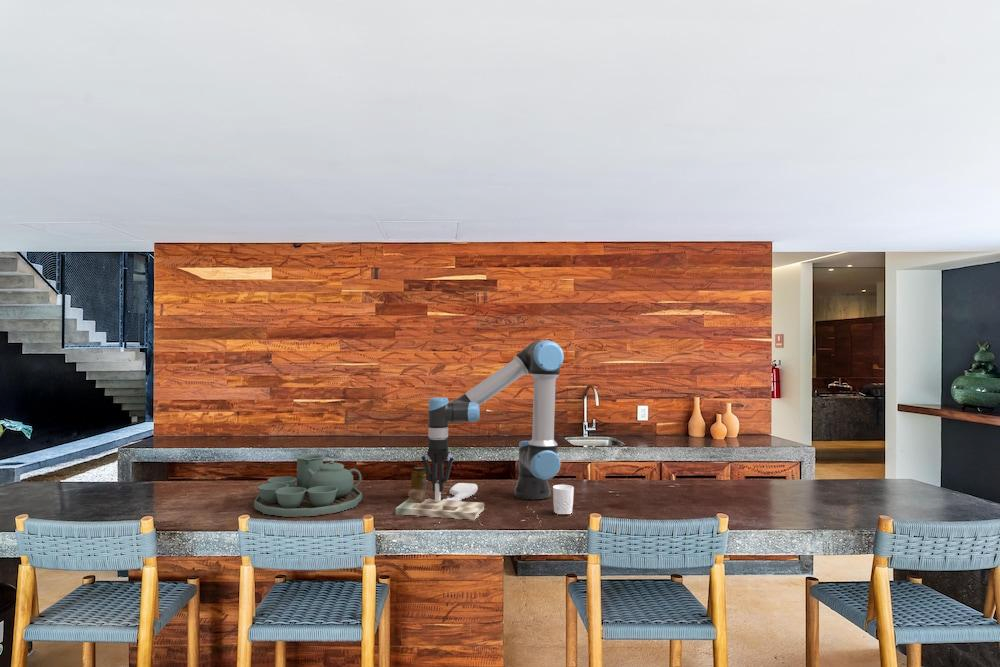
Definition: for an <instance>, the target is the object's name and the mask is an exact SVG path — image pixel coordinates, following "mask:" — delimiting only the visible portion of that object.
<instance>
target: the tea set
mask: <svg viewBox="0 0 1000 667" xmlns="http://www.w3.org/2000/svg"><path fill="white" fill-rule="evenodd" d="M325 456H326V455H325V454H321V453H305V454H300V455H297V456H295V458H296V463H297V464H296V477H295V476H287V475H286V476H283V475H282V476H274V477H270V478H268V479H267V480H266V482H267V483H263V484H260V485H258V487H257V490H258V492H259V493H258V495H257V496H256V498H255V499H254V501H253V508H254V510H255V511H257V510H258V511H257V512H259V511H260V512H259V513H261V512H262V513H263V515H264V514H270V515H280V516H313V515H319V514H327V513H335V512H340V511H343V512H345V511H344V510H346V511H348V510H347V509H349V510H351V509H350V508H352V509H355V508H356V507H357V506H358V505H359V504H360V503H361V502H362V499H363V492H361V491H360V490H359V489H358V488H356V487H358V486H359V485H360V484H361V482H362V474H361V472H360V470H359V469H356V468H351V469H348V468H347V469H346V468H344V467H345V465H344V464H343V463H339V462H335V461H333V460H331V461H329V462H326V463H324V458H325ZM352 472H355V473H357V475H358V480H357V482H356V483H355V484H354V482H355V481H354V475H353V473H352ZM359 502H360V503H359ZM358 503H359V504H358ZM299 505H300V506H299ZM302 506H303V507H302ZM305 507H306V508H305ZM354 507H355V508H354ZM262 513H261V514H262ZM340 513H341V512H340ZM270 515H269V516H270Z"/></svg>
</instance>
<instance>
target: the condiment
mask: <svg viewBox="0 0 1000 667" xmlns="http://www.w3.org/2000/svg"><path fill="white" fill-rule="evenodd" d="M410 478H411V481H410V482H411V483H410V484H411V486H410V491H411V490H412V489H421V490H425V495H426V494H427V493H426V492H427V474H426V470H425V466H414V467H412V474H411V476H410ZM426 496H427V495H426Z"/></svg>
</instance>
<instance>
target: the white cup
mask: <svg viewBox="0 0 1000 667" xmlns="http://www.w3.org/2000/svg"><path fill="white" fill-rule="evenodd" d="M574 491H575V487H574V486H573V485H569V484H555V485H553V486H552V500H553V513H554V512H555V513H557V514H571V513H572V514H573V506H574V497H575V496H574Z"/></svg>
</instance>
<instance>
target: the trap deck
mask: <svg viewBox="0 0 1000 667" xmlns="http://www.w3.org/2000/svg"><path fill="white" fill-rule="evenodd" d="M484 510H485V502H478V501H477V502H475V501H463V500H461V501H447V500H443V499H441V500H440V501H435V499H432V498H428V499H425V501H423V502H422V503H409V498H408V499H406V500H405V501H403V502H402V503H401V504H399V505H397V507H395V516H404V515H417V516H416V517H419V516H429V517H428V518H433V517H441V518H440V519H448V518H454V519H453V520H462V519H469V520H468V521H476V520H477V519H478V518H479V517H480V515H481V514H482V513H483V511H484ZM481 512H482V513H481ZM480 513H481V514H480ZM479 514H480V515H479ZM476 518H477V519H476ZM475 519H476V520H475Z"/></svg>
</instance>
